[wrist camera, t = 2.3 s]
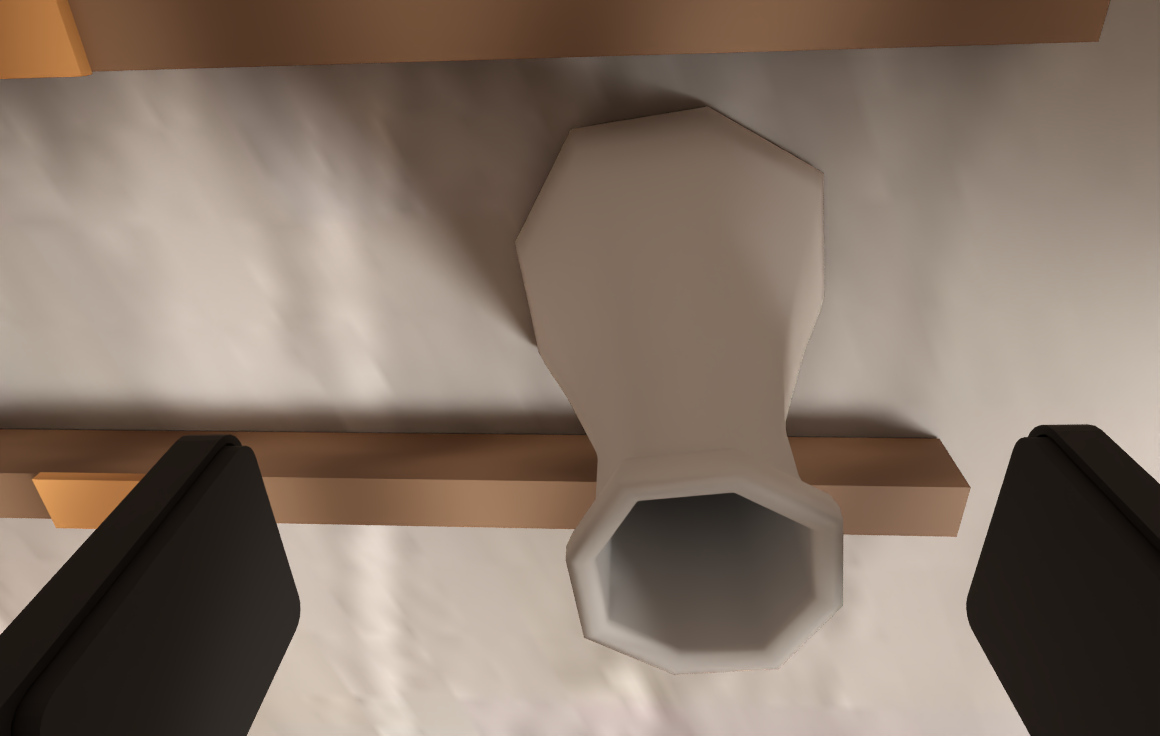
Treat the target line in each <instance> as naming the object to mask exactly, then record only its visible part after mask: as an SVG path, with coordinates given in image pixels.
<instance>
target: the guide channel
mask: <svg viewBox="0 0 1160 736" xmlns="http://www.w3.org/2000/svg"><path fill="white" fill-rule="evenodd" d="M1109 3H1110V0H0V79H10V78H45V77H79V76H87V75H92V71H123V70H157V69H190V68H224V67H258V66H292V65H325V64H359V63H393V62H426V61H460V60H494V59H528V58H561V57H595V56H629V55H662V54H696V53H730V52H764V51H797V50H831V49H865V48H898V47H932V46H966V45H999V44H1033V43H1067V42H1099V38H1100V35H1101V31H1102V28H1103V24H1104V21H1105V17H1106V14H1107V10H1108V7H1109ZM211 434H231V435H233V436H236V437H237V438H238V440H239V441H240V442H241V444H242V446H248V447H250V448H251V449H252V450H253V451H254V454H255V456H256V459H257V462H258V465H259V469H260V472H261V475H262V478H263V482H264V485H265V488H266V491H267V495H268V498H269V501H270V504H271V508H272V511H273V514H274V517H275V521H276V523H296V524H346V525H397V526H447V527H497V528H548V529H576V527H577V526H578V524H579V523H580V521H581V520H582V518H583V517H584V515H585V514H586V513H587V511H588V510H589V508H590V507H591V505H592V504H593V502H594V501H595V499H596V483H597V464H598V457H597V453H596V451H595V449H594V447H593V445H592V443H591V441H590V440H589V438H588V436H587V435H533V434H433V433H333V432H233V431H133V430H33V429H0V518H45V519H52V521H53V522H54V524H55V526H56V528H83V529H97V528H98V527H99V526H100V524H101V523H102V522H103V521H104V520H105V519H106V518H107V517H108V516H109V515H110V513H111V512H112V511H113V510H114V509H115V508H116V507H117V506H118V505H119V504H120V502H121V501H122V500H123V499H124V498H125V497H126V496H127V495H128V494H129V492H130V491H131V490H132V489H133V488H134V487H135V486H136V485H137V484H138V483H139V481H140V480H141V479H142V478H143V477H144V476H145V475H146V474H147V473H148V472H149V470H150V469H151V468H152V467H153V466H154V465H155V464H156V463H157V462H158V461H159V459H160V458H161V457H162V456H163V455H164V454H165V453H166V452H167V451H168V449H169V448H170V447H171V446H172V445H173V444H174V443H175V442H176V441H177V440H178V439H179V438H181V437H182V436H185V435H211ZM788 440H789V444H790V447H791V451H792V454H793V457H794V461H795V464H796V468H797V471H798V475H799V477H800V479H801V481H803V482H805V483H807V484H809V485H811V486H813V487H815V488H817V489H819V490H821V491H823V492H826V493H828V494H829V495H830V496H831V497H832V498H833V499H834V501H835V502H836V503H837V504H838V505H839V507H840V510H841V514H842V518H843V534H849V535H900V536H950V537H957V533H958V530H959V526H960V523H961V519H962V516H963V512H964V509H965V505H966V502H967V498H968V495H969V492H970V488H971V487H970V486H969V484H968V483H967V481H966V480H965V478H964V476H963V475H962V473H961V472H960V470H959V469H958V467H957V466H956V464H955V462H954V461H953V459H952V458H951V456H950V455H949V453H948V451H947V450H946V448H945V447H944V445H943V444H942V442H941V441H940V439H933V438H833V437H788Z"/></svg>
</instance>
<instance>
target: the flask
mask: <svg viewBox="0 0 1160 736" xmlns="http://www.w3.org/2000/svg"><path fill="white" fill-rule="evenodd" d="M515 246H516V251H517V255H518V260H519V264H520V269H521V273H522V278H523V283H524V287H525V292H526V296H527V301H528V305H529V310H530V314H531V319H532V323H533V328H534V332H535V337H536V341H537V346H538V350H539V353H540V355H541V357H542V359H543V361H544V363H545V365H546V366H547V368H548V369H549V371H550V372H551V374H552V375H553V377H554V378H555V380H556V381H557V383H558V384H559V386H560V387H561V389H562V390H563V392H564V393H565V395H566V396H567V398H568V400H569V402H570V404H571V406H572V407H573V409H574V411H575V413H576V415H577V417H578V419H579V421H580V423H581V424H582V426H583V428H584V430H585V432H586V434H587V436H588V438H589V440H590V441H591V443H592V445H593V447H594V449H595V451H596V453H597V457H598V464H597V483H596V499H595V501H594V502H593V504H592V505H591V507H590V508H589V510H588V511H587V513H586V514H585V515H584V517H583V518H582V520H581V521H580V523H579V524H578V526H577V527H576V529H575V530H574V531H573V533H572V535H571V537H570V540H569V542H568V544H567V546H566V563H567V567H568V572H569V576H570V580H571V584H572V588H573V593H574V597H575V601H576V605H577V609H578V614H579V618H580V622H581V626H582V630H583V635H584V638H586V639H589V640H591V641H594V642H596V643H599V644H601V645H603V646H606V647H608V648H611V649H613V650H616V651H618V652H620V653H623V654H625V655H628V656H630V657H633V658H635V659H637V660H640V661H642V662H645V663H647V664H649V665H652V666H654V667H657V668H659V669H662V670H664V671H666V672H669V673H671V674H674V675H679V674H697V673H716V672H734V671H753V670H771V669H779V668H780V667H781V666H782V665H783V664H784V663H785V662H786V661H787V660H788V659H789V658H790V657H791V656H792V655H793V654H794V653H795V652H796V651H797V650H798V649H799V648H800V647H801V646H802V645H803V644H804V643H805V642H806V641H807V640H808V639H809V638H811V637H812V636H813V635H814V634H815V633H816V632H817V631H818V630H819V629H820V628H821V627H822V626H823V625H824V624H825V623H826V622H827V621H828V620H829V619H830V618H831V617H832V616H833V615H834V614H835V613H836V612H837V611H838V610H839V609H840V608H841V607H842V606H843V518H842V514H841V510H840V507H839V505H838V504H837V503H836V502H835V501H834V499H833V498H832V497H831V496H830V495H829V494H828V493H826V492H823V491H821V490H819V489H817V488H815V487H813V486H811V485H809V484H807V483H805V482H803V481H801V479H800V477H799V475H798V471H797V468H796V464H795V461H794V457H793V454H792V451H791V447H790V444H789V440H788V437H787V433H786V418H787V414H788V410H789V407H790V403H791V400H792V396H793V392H794V389H795V385H796V381H797V378H798V374H799V371H800V367H801V363H802V360H803V356H804V353H805V350H806V348H807V345H808V342H809V340H810V337H811V334H812V332H813V329H814V326H815V324H816V321H817V318H818V316H819V313H820V310H821V306H822V303H823V299H824V193H823V172H821V171H819V170H818V169H816V168H814V167H812V166H811V165H809V164H807V163H805V162H804V161H802V160H800V159H798V158H797V157H795V156H793V155H791V154H790V153H788V152H786V151H784V150H783V149H781V148H779V147H777V146H776V145H774V144H772V143H770V142H769V141H767V140H765V139H763V138H762V137H760V136H758V135H756V134H755V133H753V132H751V131H749V130H748V129H746V128H744V127H742V126H741V125H739V124H737V123H735V122H734V121H732V120H730V119H728V118H727V117H725V116H723V115H722V114H720V113H718V112H716V111H715V110H713V109H711V108H709V107H702V108H696V109H690V110H684V111H678V112H672V113H665V114H659V115H653V116H647V117H641V118H635V119H629V120H623V121H616V122H610V123H604V124H598V125H592V126H586V127H580V128H574V129H571V130H570V132H569V134H568V136H567V138H566V140H565V142H564V144H563V146H562V148H561V150H560V152H559V154H558V156H557V158H556V160H555V162H554V164H553V166H552V168H551V170H550V173H549V175H548V177H547V179H546V181H545V183H544V185H543V187H542V189H541V191H540V193H539V195H538V197H537V199H536V201H535V203H534V205H533V207H532V209H531V211H530V213H529V215H528V217H527V219H526V221H525V223H524V225H523V227H522V229H521V231H520V233H519V235H518V237H517V239H516V241H515Z"/></svg>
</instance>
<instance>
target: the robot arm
mask: <svg viewBox="0 0 1160 736" xmlns="http://www.w3.org/2000/svg"><path fill="white" fill-rule="evenodd" d="M966 610H967V617H968V621H969V624H970V626H971V629H972V631H973V633H974V634H975V636H976V638H977V640H978V642H979V643H980V645H981V647H982V649H983V651H984V653H985V654H986V656H987V658H988V660H989V662H990V663H991V665H992V667H993V669H994V671H995V672H996V674H997V676H998V678H999V680H1000V681H1001V683H1002V685H1003V687H1004V689H1005V690H1006V692H1007V694H1008V696H1009V698H1010V699H1011V701H1012V703H1013V705H1014V707H1015V708H1016V710H1017V712H1018V714H1019V716H1020V717H1021V719H1022V721H1023V723H1024V725H1025V726H1026V728H1027V730H1028V732H1029V734H1030V736H1160V484H1159V483H1158V482H1157V481H1156V480H1155V479H1154V478H1153V477H1152V476H1151V475H1149V474H1148V473H1147V472H1146V471H1145V470H1144V469H1143V468H1142V467H1141V466H1140V465H1139V464H1138V463H1137V462H1135V461H1134V460H1133V459H1132V458H1131V457H1130V456H1129V455H1128V454H1127V453H1126V452H1125V451H1124V450H1123V449H1121V448H1120V447H1119V446H1118V445H1117V444H1116V443H1115V442H1114V441H1113V440H1112V439H1111V438H1110V437H1109V436H1108V435H1106V434H1105V433H1104V432H1103V431H1102V430H1101V429H1099V428H1098V427H1096V426H1093V425H1088V424H1086V425H1040V426H1037V427H1035V428H1034V429H1033V430H1032V431H1031V432H1030V434H1029V436H1028V437H1024V438H1021V439H1019V440H1018V441H1017V442H1016V444H1015V446H1014V449H1013V452H1012V455H1011V458H1010V461H1009V465H1008V468H1007V471H1006V474H1005V477H1004V481H1003V484H1002V487H1001V490H1000V494H999V497H998V500H997V503H996V506H995V510H994V513H993V516H992V519H991V522H990V526H989V529H988V532H987V535H986V538H985V542H984V545H983V548H982V551H981V555H980V558H979V561H978V564H977V567H976V571H975V574H974V577H973V580H972V583H971V587H970V590H969V593H968V596H967V602H966ZM299 618H300V600H299V596H298V592H297V589H296V586H295V583H294V579H293V576H292V573H291V569H290V566H289V563H288V560H287V556H286V553H285V550H284V547H283V543H282V540H281V537H280V534H279V530H278V527H277V524H276V521H275V517H274V514H273V511H272V508H271V504H270V501H269V498H268V495H267V491H266V488H265V485H264V482H263V478H262V475H261V472H260V469H259V465H258V462H257V459H256V456H255V454H254V451H253V450H252V449H251V448H250V447H248V446H242V444H241V442H240V441H239V440H238V438H237V437H236V436H233V435H231V434H211V435H185V436H182V437H181V438H179V439H178V440H177V441H176V442H175V443H174V444H173V445H172V446H171V447H170V448H169V449H168V451H167V452H166V453H165V454H164V455H163V456H162V457H161V458H160V459H159V461H158V462H157V463H156V464H155V465H154V466H153V467H152V468H151V469H150V470H149V472H148V473H147V474H146V475H145V476H144V477H143V478H142V479H141V480H140V481H139V483H138V484H137V485H136V486H135V487H134V488H133V489H132V490H131V491H130V492H129V494H128V495H127V496H126V497H125V498H124V499H123V500H122V501H121V502H120V504H119V505H118V506H117V507H116V508H115V509H114V510H113V511H112V512H111V513H110V515H109V516H108V517H107V518H106V519H105V520H104V521H103V522H102V523H101V524H100V526H99V527H98V528H97V529H96V530H95V531H94V532H93V533H92V534H91V535H90V537H89V538H88V539H87V540H86V541H85V542H84V543H83V544H82V545H81V547H80V548H79V549H78V550H77V551H76V552H75V553H74V554H73V555H72V556H71V558H70V559H69V560H68V561H67V562H66V563H65V564H64V565H63V566H62V567H61V569H60V570H59V571H58V572H57V573H56V574H55V575H54V576H53V577H52V579H51V580H50V581H49V582H48V583H47V584H46V585H45V586H44V587H43V588H42V590H41V591H40V592H39V593H38V594H37V595H36V596H35V597H34V598H33V599H32V601H31V602H30V603H29V604H28V605H27V606H26V607H25V608H24V609H23V610H22V612H21V613H20V614H19V615H18V616H17V617H16V618H15V619H14V620H13V622H12V623H11V624H10V625H9V626H8V627H7V628H6V629H5V630H4V631H3V633H2V634H1V635H0V736H247V734H248V732H249V729H250V727H251V725H252V723H253V721H254V719H255V717H256V714H257V712H258V710H259V708H260V706H261V704H262V702H263V699H264V697H265V695H266V693H267V691H268V689H269V687H270V684H271V682H272V680H273V678H274V676H275V674H276V672H277V670H278V667H279V665H280V663H281V661H282V659H283V657H284V655H285V652H286V650H287V648H288V646H289V644H290V642H291V640H292V637H293V635H294V633H295V631H296V628H297V626H298V622H299Z"/></svg>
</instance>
